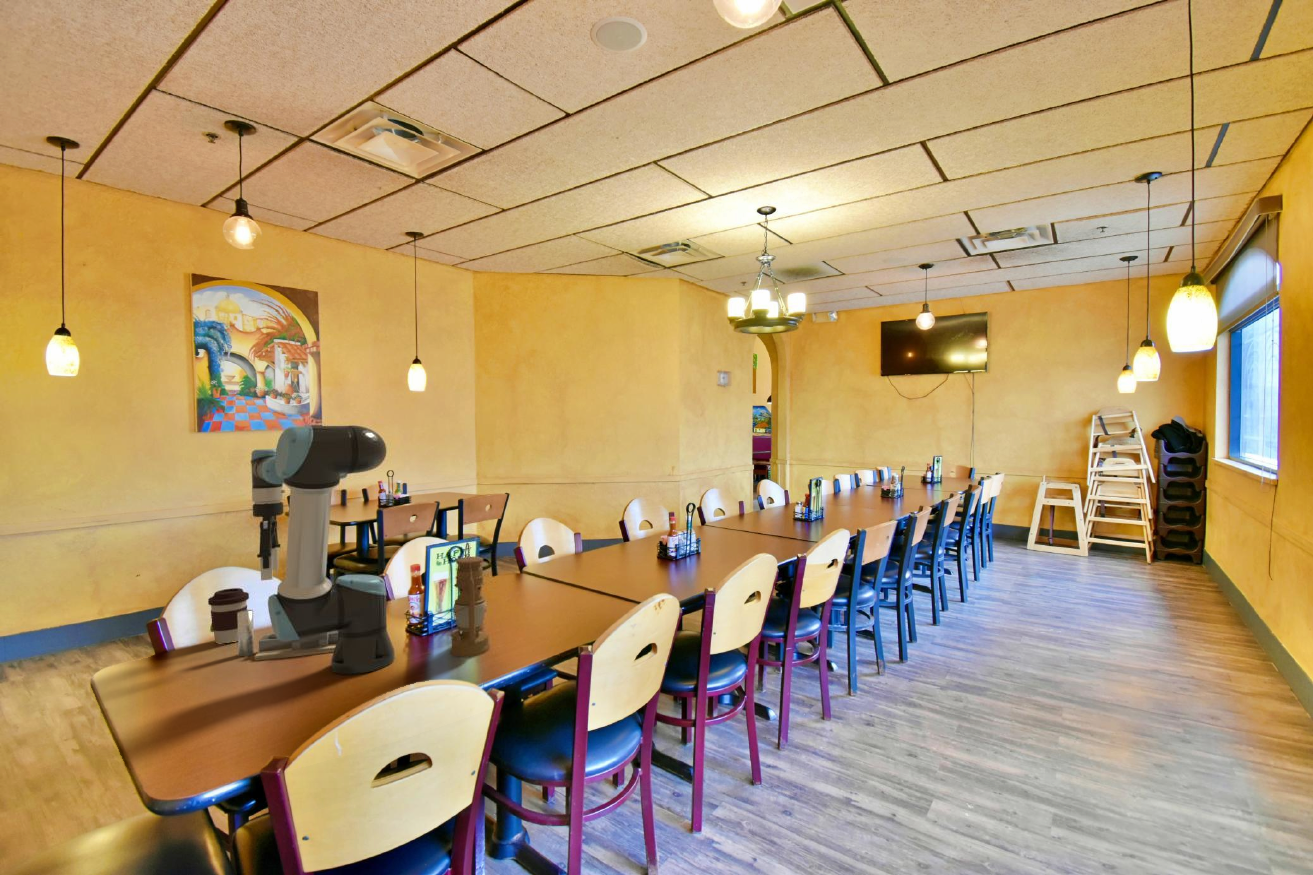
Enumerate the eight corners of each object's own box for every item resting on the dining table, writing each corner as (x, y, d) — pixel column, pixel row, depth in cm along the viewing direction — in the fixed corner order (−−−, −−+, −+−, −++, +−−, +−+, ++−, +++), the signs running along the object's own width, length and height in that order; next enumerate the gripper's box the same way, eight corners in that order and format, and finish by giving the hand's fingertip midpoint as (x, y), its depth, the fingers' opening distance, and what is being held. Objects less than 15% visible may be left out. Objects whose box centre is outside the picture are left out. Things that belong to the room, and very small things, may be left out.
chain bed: (359, 649, 171) (359, 630, 171) (254, 660, 164) (254, 641, 164) (367, 635, 183) (366, 618, 183) (269, 646, 176) (268, 628, 176)
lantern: (441, 647, 171) (438, 541, 171) (476, 638, 178) (473, 536, 178) (463, 662, 160) (460, 548, 160) (499, 652, 167) (497, 543, 166)
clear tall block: (251, 655, 168) (250, 612, 168) (236, 657, 167) (235, 614, 167) (256, 651, 171) (254, 609, 171) (241, 653, 170) (240, 610, 170)
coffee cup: (257, 637, 183) (256, 588, 183) (222, 648, 174) (220, 596, 174) (237, 633, 188) (235, 585, 187) (202, 644, 179) (200, 593, 178)
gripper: (278, 505, 167) (280, 582, 167) (287, 497, 189) (289, 565, 189) (245, 507, 164) (247, 585, 164) (258, 499, 186) (260, 568, 186)
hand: (270, 574), depth 177 cm, fingers open, 13 cm apart
